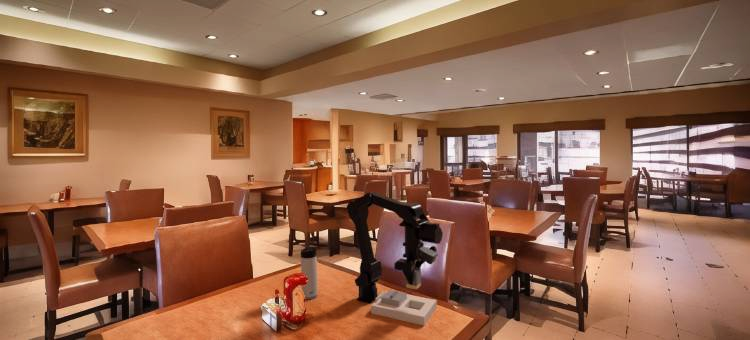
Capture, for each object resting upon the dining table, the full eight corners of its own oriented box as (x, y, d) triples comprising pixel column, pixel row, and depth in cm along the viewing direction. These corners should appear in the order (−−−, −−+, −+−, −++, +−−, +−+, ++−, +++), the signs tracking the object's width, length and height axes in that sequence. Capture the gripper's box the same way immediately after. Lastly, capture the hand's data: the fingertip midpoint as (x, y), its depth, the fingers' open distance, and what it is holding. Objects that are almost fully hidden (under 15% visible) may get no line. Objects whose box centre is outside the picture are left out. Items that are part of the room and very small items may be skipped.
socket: (436, 308, 128) (436, 296, 127) (424, 325, 115) (424, 313, 115) (387, 298, 137) (387, 287, 136) (371, 313, 124) (371, 302, 124)
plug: (416, 289, 120) (416, 272, 120) (406, 287, 122) (405, 270, 122) (420, 285, 124) (420, 268, 123) (410, 283, 126) (410, 267, 125)
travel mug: (315, 300, 135) (313, 250, 134) (299, 299, 137) (297, 249, 135) (320, 293, 142) (319, 246, 140) (305, 292, 143) (304, 245, 142)
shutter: (406, 298, 129) (406, 291, 129) (399, 306, 123) (399, 298, 123) (389, 294, 132) (389, 287, 132) (381, 302, 126) (381, 295, 126)
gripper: (424, 249, 110) (425, 297, 111) (443, 235, 126) (443, 277, 127) (393, 245, 115) (394, 290, 116) (414, 232, 132) (415, 272, 133)
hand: (413, 282), depth 123 cm, fingers closed on plug, 4 cm apart
